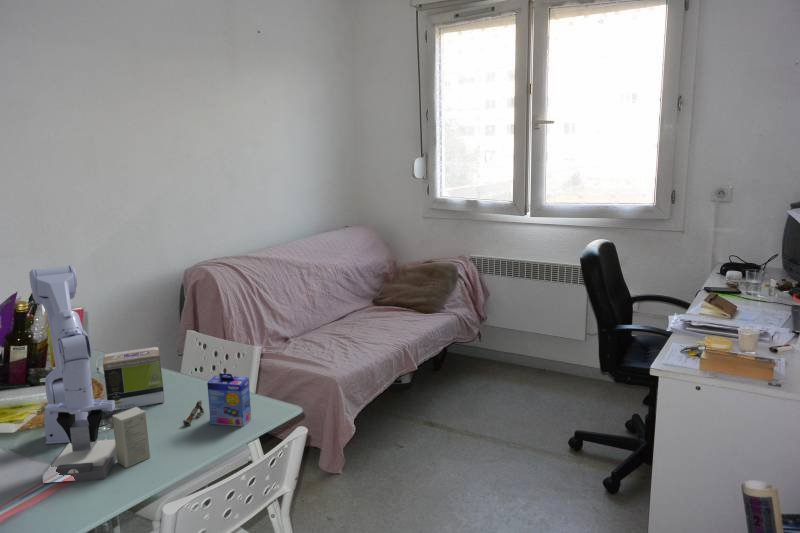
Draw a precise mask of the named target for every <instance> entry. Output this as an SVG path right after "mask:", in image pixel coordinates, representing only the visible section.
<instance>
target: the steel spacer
mask: <svg viewBox="0 0 800 533" xmlns="http://www.w3.org/2000/svg"><path fill="white" fill-rule="evenodd" d="M70 434H71V442H72V450H73V452H78V451H91V450H92V449H93V447H94V446H95V444H96V443H97V441H98V439H97V440H96V441H95V442H92V441H91V432H90V426H89V423H88V420H87V419H86V420H76V421H75V422H74V423H73V425H72V426H71V427H70Z"/></svg>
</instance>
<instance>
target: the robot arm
mask: <svg viewBox="0 0 800 533" xmlns="http://www.w3.org/2000/svg"><path fill="white" fill-rule="evenodd" d="M76 271H77V270H76V268H75V267H74V266H73V265H72V264H69V265H68V266H67V265H66V266H57V267H48V268H47V267H46V268H38V269H36V268H33V269H31V270H30V271H29V274H28V275H29V282H30V283H29V284H30V288H31V295H32V299H33V300H34V303H36V304H39V305H42V306H43V308H44V310H45V313H46V316H47V322H48V330H49V334H50V335H49V336H50V341H51V346H52V353H53V359H54V368H53V369H52V370H51V371H50V372H49V373H47V375H46V377H45V379H44V384H45V395H46V400H47V405H46V406H45V407H44V413H43V414H44V415H43V422H44V423H43V424H44V431H45V437H46V441H45V443H44V444H46V445H51V444H54V445H55V444H64V443H65V444H67V443H68V444H69V443H71V444H72V442H71V434H70V427H71V426H72V425H73V423H74V422H75V421H76V420H86V419H87V420H88V423H89V426H90V432H91V441H92V442H95V441H96V440H97V441H98V438H99V429H100V426H101V421H102V419H103V415H104V413H105V411H107V412H109V411H110V412H114V411H113V410H114V409H115V400H107V399H95V398H94V391H93V382H92V372H91V365H90V364H91V363H90V362H91V361H90V358H92V344H91V341H90V337H89V335H88V333H87V332H86V330H85V329H84V327H83V324H82V321H81V317H80V315H79V313H78V312H76V311H75V310H73V309H72V302H71V300H73V299H74V298H75V296H76V294H77V288H78V279H77V278H78V277H77V273H76Z"/></svg>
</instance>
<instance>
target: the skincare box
mask: <svg viewBox="0 0 800 533" xmlns="http://www.w3.org/2000/svg"><path fill="white" fill-rule="evenodd" d="M111 416H112V425H113V434H114V439H115V444H116V452H117V460H116V462H117V463H118V464H120V465H121V466H122V467H124V468H129V467H131V466H134V465H135V464H138V463H141V462H143V461H145V460H148V459H149V458H151V452H150V451H151V450H150V442H149V434H148V423H147V411H145V410H144V409H142V408H140V407H133V408H128V409H126V410H123V411H120V412H118V413H115V414H112V415H111Z"/></svg>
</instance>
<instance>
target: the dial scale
mask: <svg viewBox="0 0 800 533" xmlns="http://www.w3.org/2000/svg"><path fill="white" fill-rule="evenodd" d="M116 462H117V452H116V444H115V438H114V439H103V440H97V443H96V444H95V446H94V447H93V449H92V450H91V451H78V452H73V450H72V444H71V443H70V442H68V444H66V445H65V446H64V447H63V449H62V450H61V451H60V452H59V454H58V455H57V456H56V457H55V458H54V460H53V461H52V462H51V464H50V465H51V467H54V466H55V467H57V469H56V472H58V473H60V474H59V475H63V476H64V475H71V476H73V477H74V479H75V480H76V481H75V482H85V481H97V480H105V479H106V478H107V477H108V474H109V473H110V472H111V469H112V468H113V467H114V465H115V463H116Z"/></svg>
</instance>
